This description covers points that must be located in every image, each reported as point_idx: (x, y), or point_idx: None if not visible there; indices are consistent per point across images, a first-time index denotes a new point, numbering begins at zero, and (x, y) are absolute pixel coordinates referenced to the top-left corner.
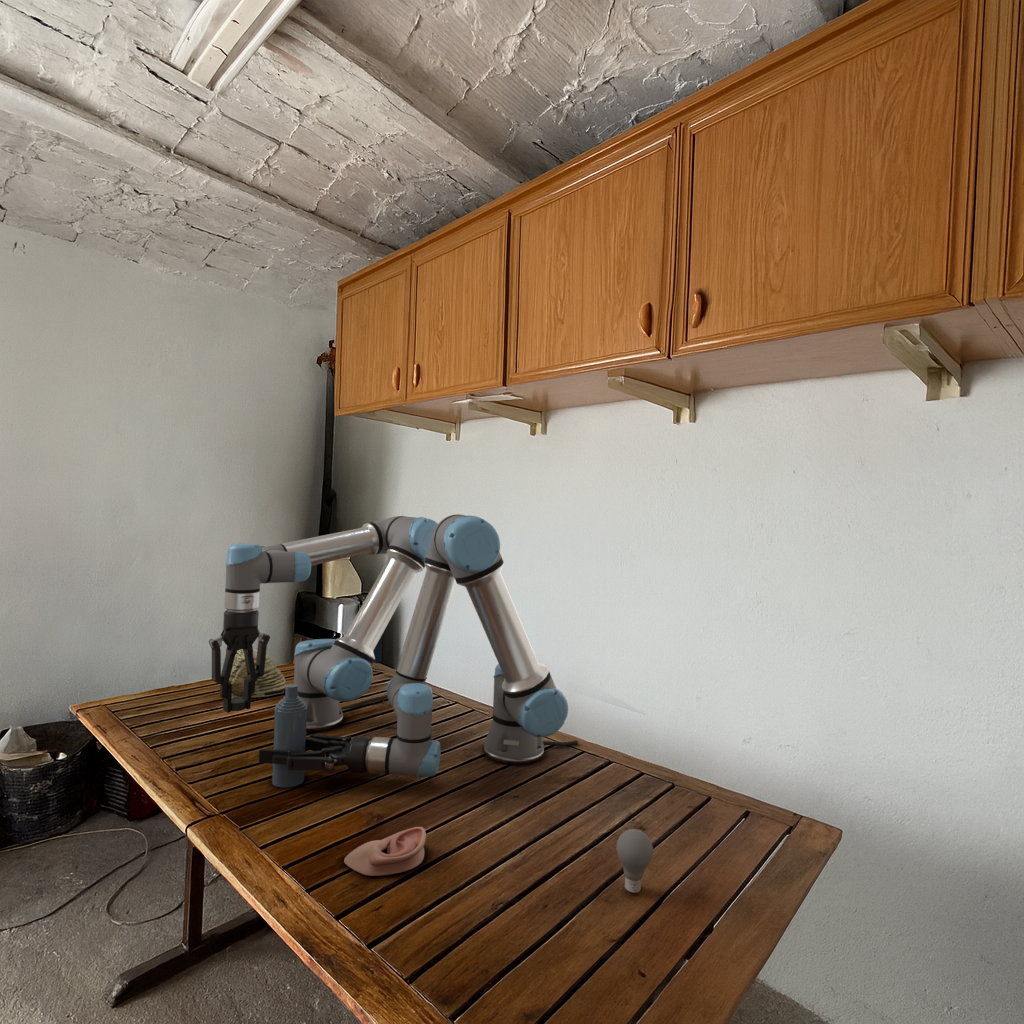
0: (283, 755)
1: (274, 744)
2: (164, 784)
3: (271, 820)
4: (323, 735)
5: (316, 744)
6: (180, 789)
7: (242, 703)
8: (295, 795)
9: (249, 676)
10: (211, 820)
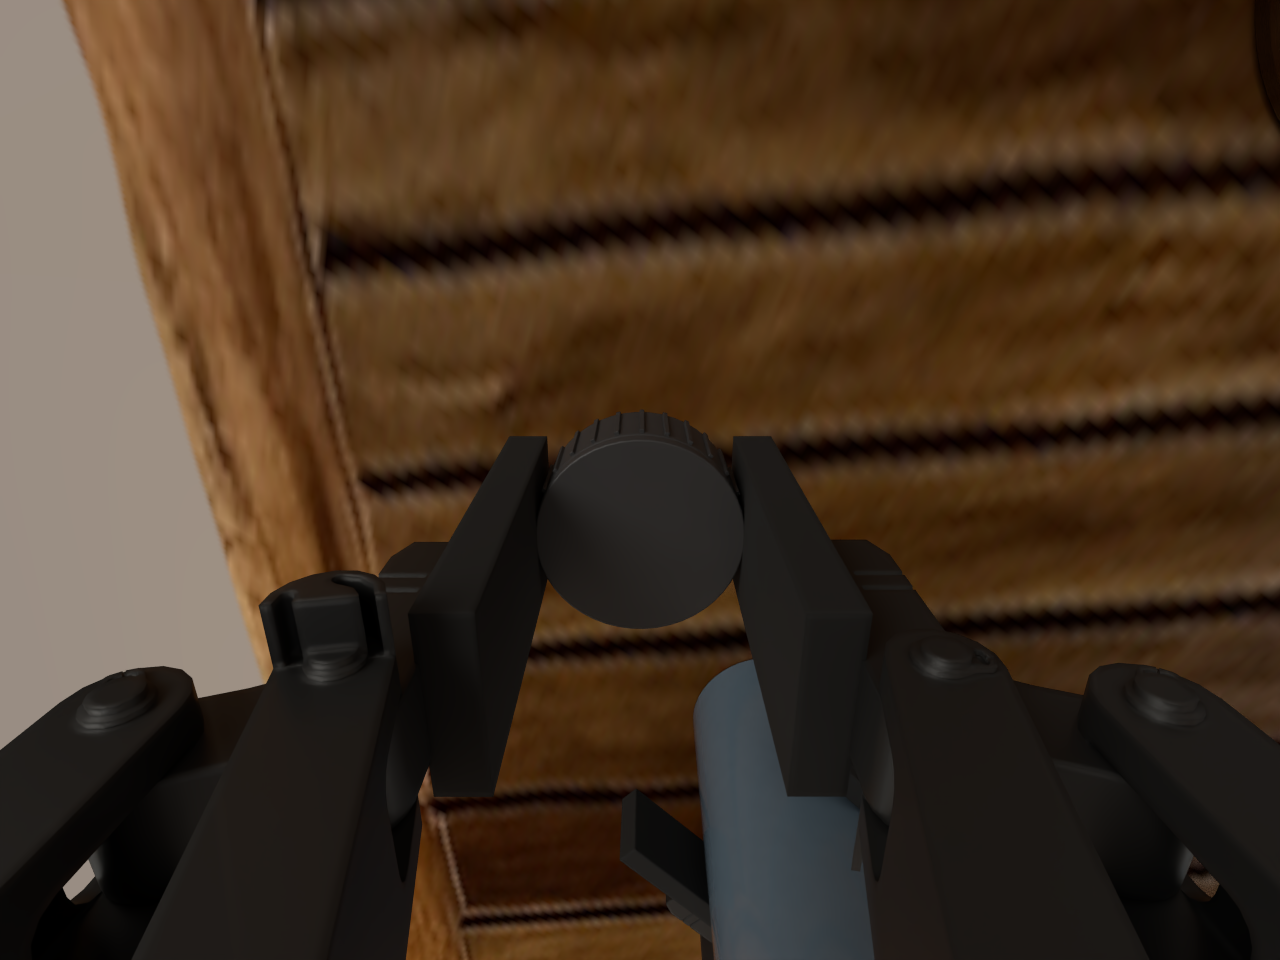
0: None
1: (709, 889)
2: (248, 423)
3: (569, 928)
4: None
5: None
6: (317, 526)
7: (668, 619)
8: None
9: (879, 757)
10: None
